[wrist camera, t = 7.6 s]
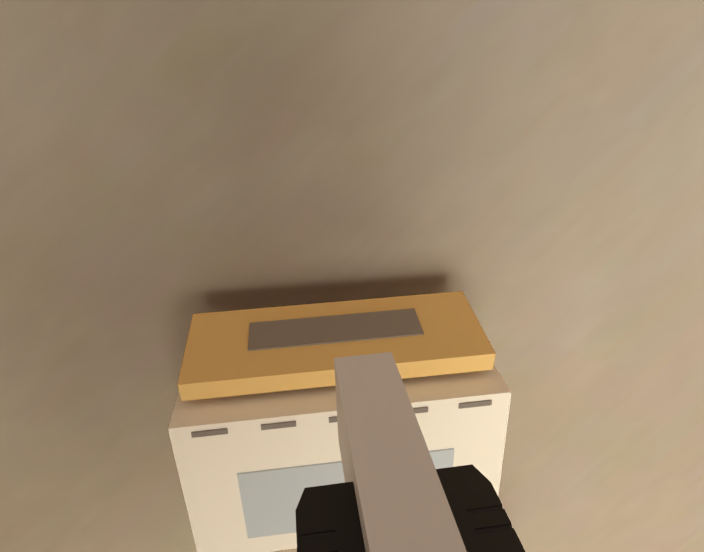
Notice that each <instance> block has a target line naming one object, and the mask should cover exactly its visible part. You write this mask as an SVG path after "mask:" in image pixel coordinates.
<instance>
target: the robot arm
mask: <svg viewBox="0 0 704 552" xmlns="http://www.w3.org/2000/svg"><path fill="white" fill-rule="evenodd" d="M334 369H335V387H336V405H337V423H338V441H339V447H340V453H341V460H342V466H343V472H344V478H345V483H338V484H330V485H323V486H315V487H307V488H304V491H303V493H302V496H301V498H300V501H299V503H298V505H297V508H296V510H295V513H296V536H297V552H525V550H524V548H523V546H522V544H521V542H520V540H519V538H518V536H517V534H516V532H515V530H514V528H512V526H511V522H510V520H509V518H508V516H507V514H506V512H505V510H504V509H503V508H502V504H501V502H500V499H499V497H498V495H497V493H496V491H495V489H494V487H493V485H492V483H491V482H490V481H489V480H488V479H487V478H486V477H485V476H484V475H483V474H482V473H481V472H480V471H479V470H478V469H476V468H475V467H474V466H473V465H472V464H471V465H464V466H456V467H448V468H441V469H435V466H434V463H433V461H432V458H431V455H430V453H429V450H428V447H427V445H426V442H425V439H424V437H423V434H422V431H421V429H420V426H419V423H418V421H417V418H416V415H415V413H414V410H413V407H412V405H411V402H410V400H409V397H408V394H407V392H406V389H405V386H404V384H403V381H402V378H401V376H400V373H399V370H398V368H397V365H396V362H395V360H394V357H393V354H392V352H386V353H376V354H367V355H357V356H348V357H338V358H334Z"/></svg>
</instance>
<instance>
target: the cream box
mask: <svg viewBox="0 0 704 552" xmlns="http://www.w3.org/2000/svg"><path fill="white" fill-rule="evenodd" d="M402 381H403V384H404V386H405V389H406V392H407V394H408V397H409V400H410V402H411V405H412V407H413V410H414V413H415V415H416V418H417V421H418V423H419V426H420V429H421V431H422V434H423V437H424V439H425V442H426V445H427V447H428V450H429V453H430V455H431V458H432V461H433V463H434V466H435V469H441V468H448V467H456V466H464V465H471V464H472V465H473V466H474V467H475V468H476V469H478V470H479V471H480V472H481V473H482V474H483V475H484V476H485V477H486V478H487V479H488V480H489V481H490V482H491V483H492V485H493V487H494V489H495V491H496V493H497V495H498V494H499V486H500V479H501V471H502V463H503V455H504V447H505V439H506V432H507V424H508V416H509V408H510V400H511V391H510V389H509V388H508V386H507V384H506V383H505V381H504V380H503V378H502V377H501V375H500V374H499V372H498V371H497V369H496V368H495V366H494V365H493V370H484V371H474V372H464V373H455V374H445V375H435V376H425V377H415V378H405V379H402ZM168 432H169V436H170V440H171V444H172V448H173V453H174V457H175V461H176V465H177V469H178V474H179V478H180V482H181V486H182V490H183V494H184V499H185V503H186V507H187V511H188V515H189V520H190V524H191V528H192V532H193V536H194V541H195V545H196V549H197V552H272V551H279V550H287V549H294V548H297V536H296V513H295V510H296V508H297V505H298V503H299V501H300V498H301V496H302V493H303V491H304V488H307V487H315V486H323V485H330V484H338V483H345V478H344V472H343V466H342V460H341V453H340V447H339V441H338V423H337V405H336V387H335V386H327V387H317V388H307V389H297V390H287V391H278V392H268V393H258V394H248V395H238V396H228V397H219V398H209V399H199V400H189V401H182V400H181V396H180V393H178V396H177V400H176V403H175V406H174V410H173V413H172V416H171V420H170V423H169V427H168Z"/></svg>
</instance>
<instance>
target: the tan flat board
mask: <svg viewBox="0 0 704 552" xmlns="http://www.w3.org/2000/svg"><path fill="white" fill-rule="evenodd" d="M386 352H392V354H393V357H394V360H395V362H396V365H397V368H398V370H399V373H400V376H401V378H402V379H405V378H415V377H425V376H435V375H445V374H455V373H464V372H474V371H484V370H493V365H494V360H495V355H496V353H495V351H494V349H493V348H492V346H491V344H490V342H489V340H488V338H487V336H486V335H485V333H484V331H483V329H482V327H481V325H480V323H479V321H478V320H477V318H476V316H475V314H474V312H473V310H472V308H471V307H470V305H469V303H468V301H467V299H466V297H465V295H464V293H463V292H462V291H457V292H445V293H433V294H421V295H410V296H398V297H386V298H375V299H363V300H351V301H339V302H328V303H316V304H304V305H293V306H281V307H269V308H258V309H246V310H234V311H222V312H211V313H199V314H193V316H192V321H191V325H190V330H189V334H188V339H187V343H186V348H185V352H184V357H183V362H182V366H181V371H180V375H179V380H178V384H177V386H178V389H179V393H180V396H181V400H182V401H189V400H199V399H209V398H219V397H228V396H238V395H248V394H258V393H268V392H278V391H287V390H297V389H307V388H317V387H327V386H335V369H334V358H338V357H348V356H357V355H367V354H376V353H386Z"/></svg>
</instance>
